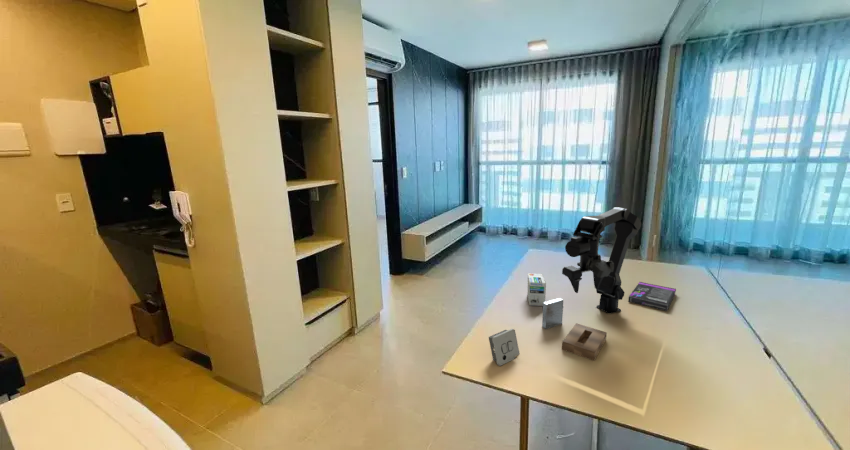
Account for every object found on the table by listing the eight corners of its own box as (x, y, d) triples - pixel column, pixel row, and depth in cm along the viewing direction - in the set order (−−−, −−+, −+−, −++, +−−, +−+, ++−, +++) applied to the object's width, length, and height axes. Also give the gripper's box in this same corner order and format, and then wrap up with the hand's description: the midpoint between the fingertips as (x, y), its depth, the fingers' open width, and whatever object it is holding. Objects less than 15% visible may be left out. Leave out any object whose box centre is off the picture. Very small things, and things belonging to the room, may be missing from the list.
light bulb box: (545, 306, 142) (546, 283, 139) (529, 305, 143) (529, 282, 141) (542, 295, 152) (543, 273, 149) (526, 294, 153) (527, 272, 151)
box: (638, 288, 156) (627, 302, 143) (639, 281, 155) (628, 295, 142) (675, 296, 147) (667, 312, 133) (676, 288, 146) (668, 304, 132)
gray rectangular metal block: (558, 324, 128) (559, 297, 125) (561, 326, 126) (563, 299, 124) (542, 329, 125) (543, 302, 122) (545, 331, 123) (546, 304, 121)
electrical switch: (499, 367, 105) (497, 340, 104) (488, 360, 110) (486, 333, 108) (520, 356, 110) (518, 330, 109) (509, 350, 114) (507, 325, 113)
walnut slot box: (575, 333, 122) (576, 323, 121) (605, 342, 115) (606, 332, 114) (561, 351, 111) (562, 341, 110) (593, 363, 105) (594, 352, 104)
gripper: (585, 261, 112) (582, 304, 116) (628, 253, 117) (624, 294, 121) (562, 252, 122) (560, 291, 126) (602, 245, 127) (599, 283, 131)
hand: (586, 290), depth 126 cm, fingers open, 9 cm apart
